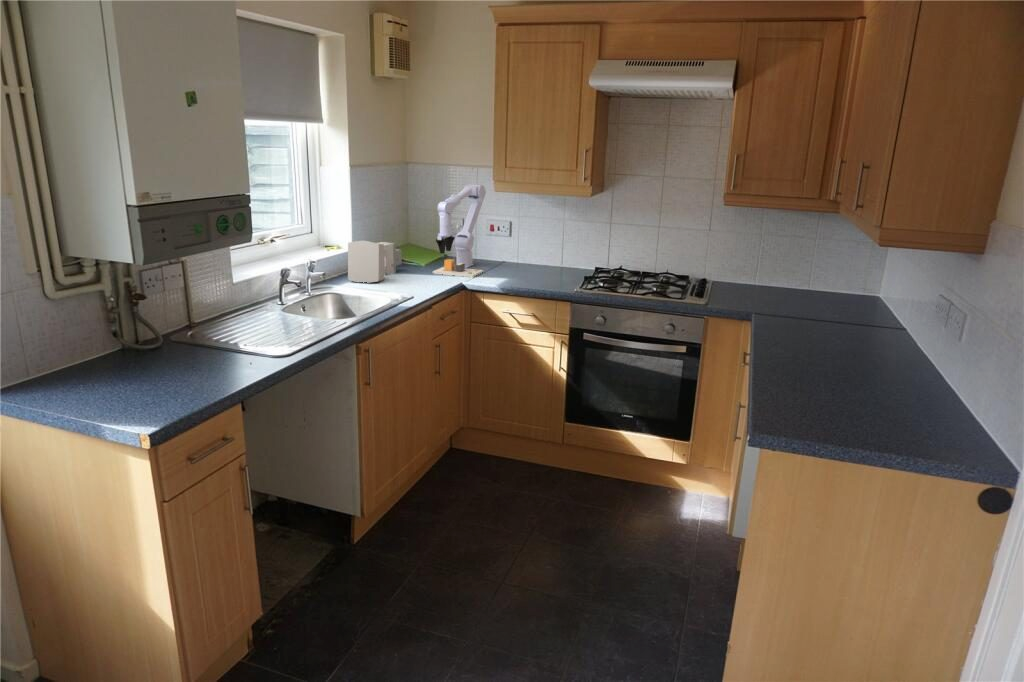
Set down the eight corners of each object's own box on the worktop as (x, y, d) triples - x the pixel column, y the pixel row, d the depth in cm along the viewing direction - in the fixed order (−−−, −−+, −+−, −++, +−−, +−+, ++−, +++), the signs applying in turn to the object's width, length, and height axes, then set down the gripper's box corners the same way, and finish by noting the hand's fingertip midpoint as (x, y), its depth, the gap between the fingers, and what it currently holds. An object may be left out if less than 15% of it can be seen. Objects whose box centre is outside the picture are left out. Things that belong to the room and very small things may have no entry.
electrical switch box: (387, 282, 333) (387, 240, 330) (378, 284, 318) (378, 240, 315) (357, 280, 334) (358, 239, 331) (347, 282, 319) (348, 239, 316)
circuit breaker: (404, 271, 349) (403, 241, 344) (385, 275, 337) (384, 245, 333) (392, 269, 352) (392, 240, 348) (373, 273, 341) (372, 243, 336)
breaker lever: (459, 269, 349) (459, 262, 348) (464, 269, 348) (464, 263, 347) (455, 270, 345) (455, 264, 344) (460, 271, 344) (460, 264, 343)
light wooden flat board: (444, 268, 357) (444, 265, 356) (483, 272, 350) (483, 269, 350) (432, 273, 344) (432, 270, 344) (472, 277, 338) (472, 274, 337)
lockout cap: (447, 268, 351) (447, 259, 349) (454, 269, 350) (454, 259, 348) (444, 270, 347) (444, 260, 346) (451, 270, 346) (451, 261, 345)
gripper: (444, 223, 355) (444, 249, 359) (431, 226, 342) (432, 253, 346) (456, 224, 352) (456, 250, 356) (444, 227, 339) (444, 254, 343)
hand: (445, 252), depth 351 cm, fingers open, 7 cm apart
